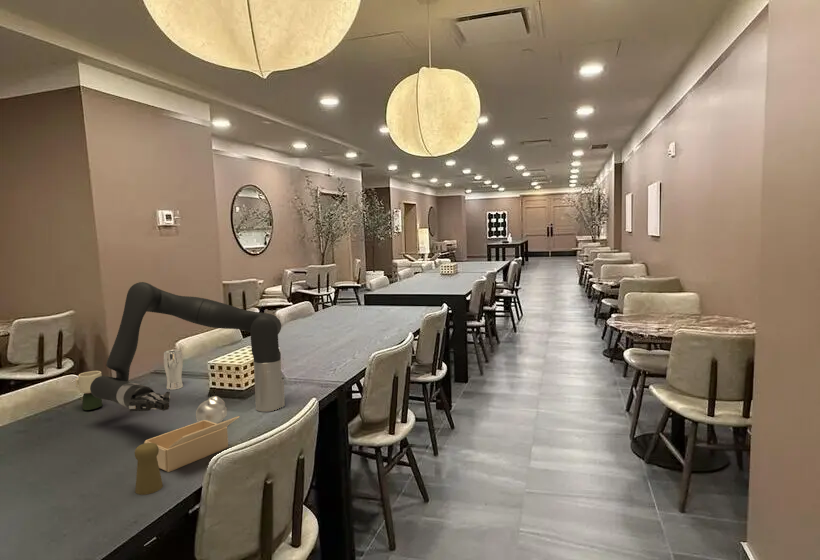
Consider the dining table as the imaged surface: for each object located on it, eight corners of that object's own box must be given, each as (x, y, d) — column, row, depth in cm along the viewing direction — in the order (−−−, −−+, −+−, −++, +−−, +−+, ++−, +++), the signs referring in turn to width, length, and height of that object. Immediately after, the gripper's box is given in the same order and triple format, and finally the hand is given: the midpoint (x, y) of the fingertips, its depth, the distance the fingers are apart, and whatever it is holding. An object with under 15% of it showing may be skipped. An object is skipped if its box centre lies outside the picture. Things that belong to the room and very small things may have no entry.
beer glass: (188, 385, 208) (185, 349, 206) (175, 390, 201) (172, 353, 200) (174, 384, 210) (172, 348, 208) (161, 389, 203) (159, 352, 202)
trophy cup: (113, 405, 185) (111, 370, 184) (101, 412, 178) (98, 376, 176) (84, 405, 185) (81, 370, 184) (70, 412, 178) (68, 376, 177)
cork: (141, 483, 126) (138, 440, 125) (166, 481, 126) (164, 439, 125) (130, 495, 120) (127, 450, 119) (156, 493, 120) (154, 449, 119)
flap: (225, 426, 145) (239, 415, 141) (225, 427, 145) (239, 416, 141) (168, 447, 131) (182, 436, 127) (169, 448, 131) (182, 437, 127)
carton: (205, 438, 153) (204, 419, 152) (229, 447, 146) (228, 427, 146) (143, 462, 137) (142, 440, 137) (167, 472, 131) (165, 450, 130)
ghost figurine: (214, 433, 156) (212, 402, 155) (190, 430, 160) (188, 399, 159) (233, 423, 165) (232, 393, 164) (210, 420, 168) (209, 390, 167)
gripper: (112, 390, 150) (142, 400, 140) (155, 379, 161) (186, 387, 151) (113, 414, 151) (144, 426, 141) (156, 402, 162) (188, 412, 152)
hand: (166, 406), depth 146 cm, fingers closed
